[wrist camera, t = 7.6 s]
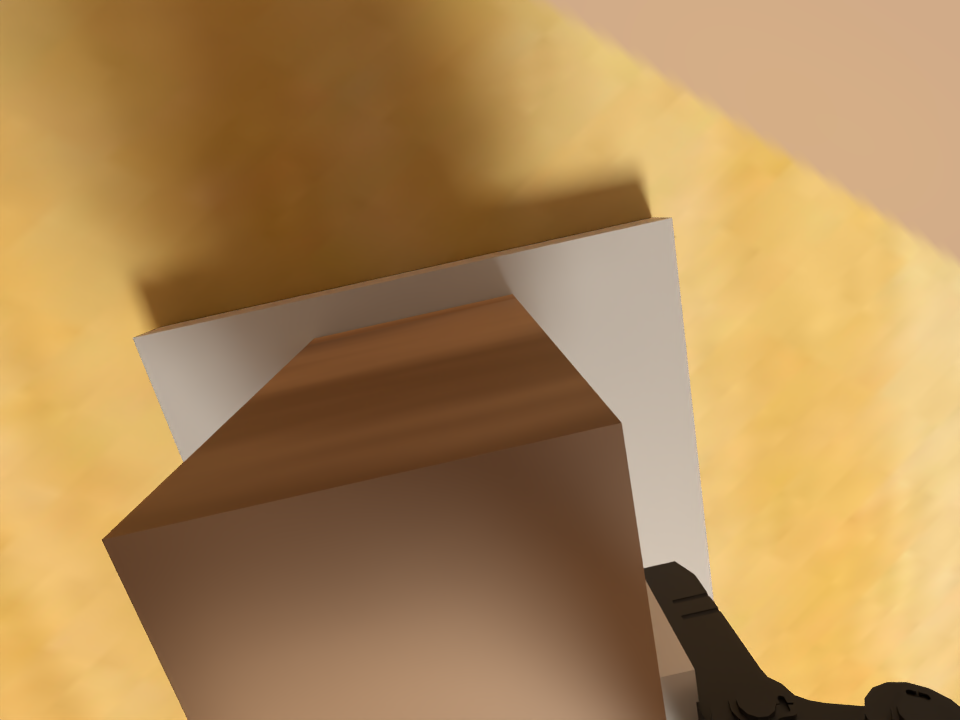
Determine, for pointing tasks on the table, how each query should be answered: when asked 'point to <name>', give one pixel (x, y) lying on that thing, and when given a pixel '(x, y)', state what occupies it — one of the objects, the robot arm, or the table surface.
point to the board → (519, 271)
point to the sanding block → (403, 538)
